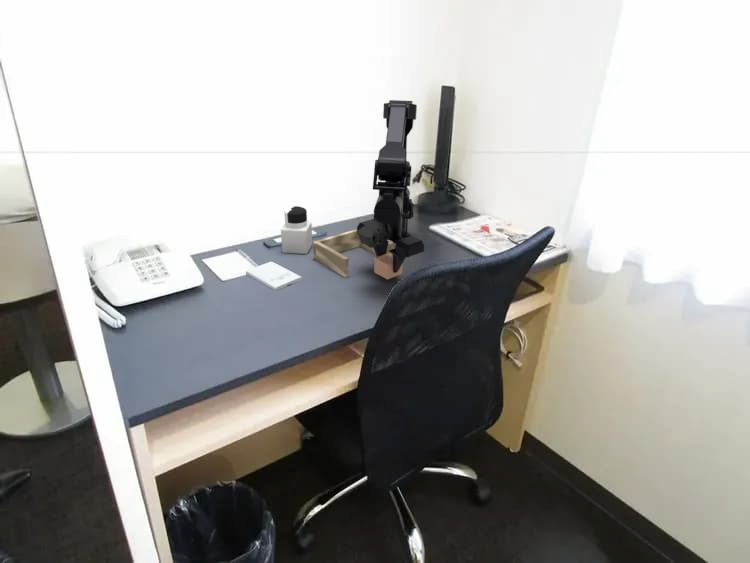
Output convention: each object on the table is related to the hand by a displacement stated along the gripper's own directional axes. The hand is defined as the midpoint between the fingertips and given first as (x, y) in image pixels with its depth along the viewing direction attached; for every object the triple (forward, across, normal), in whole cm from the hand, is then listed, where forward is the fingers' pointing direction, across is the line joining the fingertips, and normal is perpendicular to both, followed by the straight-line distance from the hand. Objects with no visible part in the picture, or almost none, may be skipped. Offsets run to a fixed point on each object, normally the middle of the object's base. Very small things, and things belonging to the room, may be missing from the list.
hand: (388, 268), depth 120 cm
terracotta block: (+1, 0, 0) cm, 1 cm away
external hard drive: (+4, -19, -22) cm, 29 cm away
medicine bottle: (+3, -30, -8) cm, 31 cm away
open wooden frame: (+3, -14, 0) cm, 15 cm away
